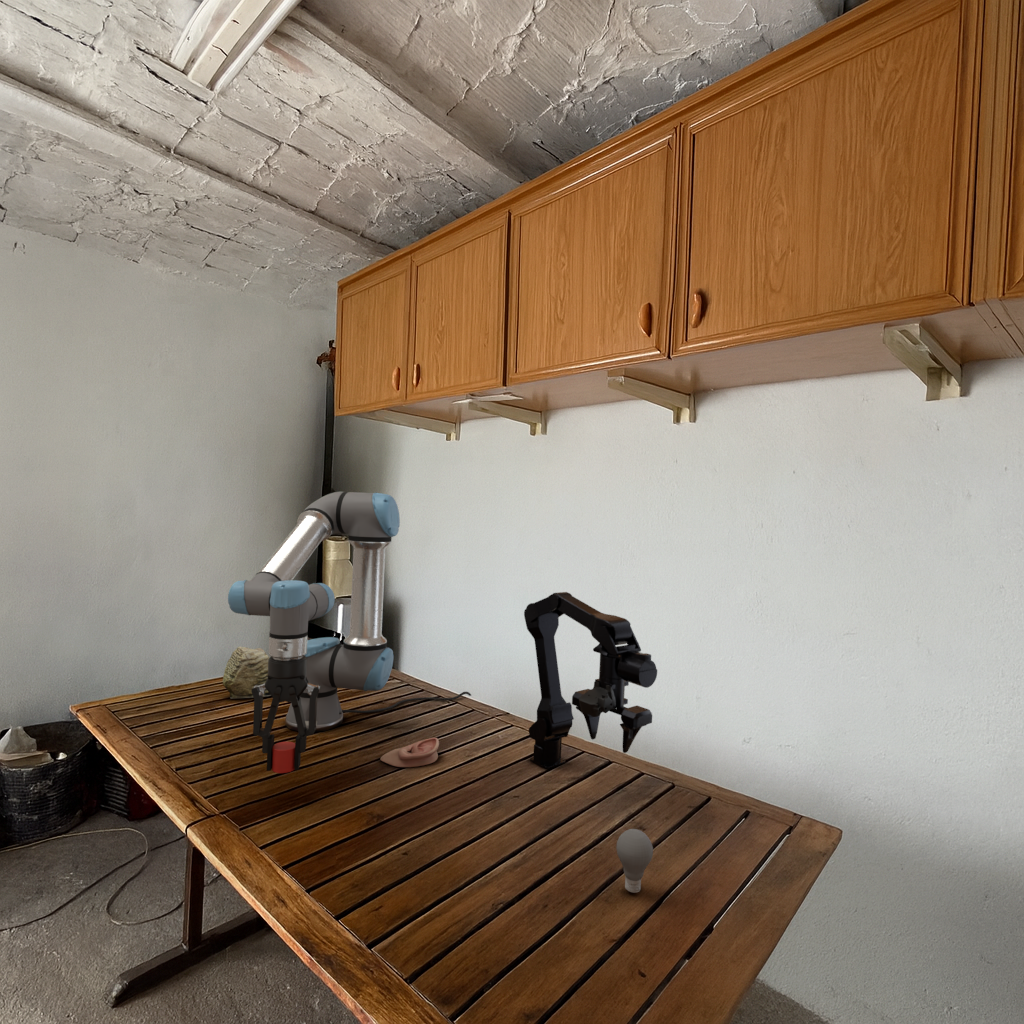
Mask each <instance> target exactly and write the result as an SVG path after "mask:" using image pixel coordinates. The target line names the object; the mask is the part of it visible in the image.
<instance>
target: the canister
mask: <svg viewBox="0 0 1024 1024" xmlns="http://www.w3.org/2000/svg"><path fill="white" fill-rule="evenodd" d="M294 765H295V742H294V741H281V742H277V743H274V745H273V748H272V769H271V771H272V772H273V773H276V774H286V773H291V772H293V771H295V770H294Z"/></svg>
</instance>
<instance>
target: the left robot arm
mask: <svg viewBox="0 0 1024 1024" xmlns="http://www.w3.org/2000/svg"><path fill="white" fill-rule="evenodd" d="M400 520H401V519H400V512H399V507H398V504H397V501H396V499H395V498H394V497H393V496H392V495H390V494H388V493H381V492H363V491H362V492H358V491H357V492H356V491H334V492H330V493H328V494H325V495H324V496H321V497H320V498H318V499H316V500H315V501H313V502H311V503H310V504H309V505H308V506H307V507H306V508H305V509H303V511H301V513H300V514H299V515H298V518H297V520H296V525H295V526H294V528H292V530H291V531H290V532H289V534H288V535H287V536H286V537H285V538H284V540H283V541H282V542H281V543H279V545H278V547H276V549H275V551H274V552H273V553H272V554H271V555H270V557H269V558H268V559H267V560H266V561H265V563H264V564H263V565H262V566H261V567H260V568H259V570H258V571H257V572H256V573H255V574H254V576H253V577H252V578H251V579H250V580H248V579H244V580H237V581H235V582H234V583H232V585H231V586H230V588H229V591H228V594H227V602H228V605H229V609H230V611H232V612H233V613H235V614H239V615H246V616H257V617H258V616H259V617H269V632H268V633H269V634H268V656H269V659H268V678H267V681H266V682H265V683H264V684H262V685H255V686H254V688H253V689H252V695H253V697H252V698H253V720H252V721H253V723H252V726H253V727H252V735H253V736H255V737H256V736H258V737H260V738H261V739H262V741H261V742H262V745H261V752H262V754H266V772H270V771H272V748H273V745H275V734H273V733H272V730H273V729H272V728H273V726H274V722H275V719H276V716H277V713H278V709H279V705H280V703H284V702H287V703H290V704H289V708H288V711H287V713H286V715H285V726H286V728H287V729H289V730H291V731H294V732H295V731H296V732H297V734H296V736H295V740H294V741H295V742H294V743H295V765H294V770H293V771H299V769H300V766H301V759H302V758H301V756H302V753H305V751H306V749H307V739H308V738H307V737H308V736H311V735H312V736H313V735H314V734H315V733H316V732H325V731H329V730H332V729H335V728H337V727H339V726H340V725H342V723H343V722H344V713H347V714H349V713H351V714H353V713H354V714H372V713H379V712H385V711H388V710H390V709H391V710H392V709H394V708H396V707H397V706H399V705H401V704H405V703H407V702H413V701H414V702H415V701H427V700H428V701H453V700H454V701H455V700H457V699H459V698H460V697H462V696H464V695H467V696H469V697H470V696H472V694H471V692H469V691H463V692H461V693H460V694H458V695H456V696H453V697H435V696H433V697H432V696H425V697H413V698H406V699H402V700H399V701H398V702H395V703H394V704H393V705H390V706H387V707H382V708H375V709H367V710H366V709H365V710H360V709H359V710H358V709H342V706H341V702H340V699H339V695H338V689H346V690H357V691H364V692H368V691H370V692H372V691H373V692H377V691H380V690H382V689H383V688H384V687H385V685H386V684H387V683H388V681H389V678H390V676H391V673H392V669H393V665H394V651H393V649H392V648H390V647H388V646H387V645H388V644H387V643H388V640H387V638H386V637H384V636H383V633H382V631H383V609H384V590H385V589H384V587H385V566H386V549H387V548H388V547H389V545H391V543H392V538H394V537H396V536H397V535H398V533H399V528H400V526H401V525H400V523H401V522H400ZM335 534H342V535H348V537H347V538H348V539H347V541H348V543H349V544H350V545H351V546H352V547H353V552H352V554H353V555H352V575H351V577H352V578H351V596H350V597H351V598H350V599H351V601H350V617H349V618H350V620H349V623H350V624H349V634H348V636H346V637H345V638H344V639H343V644H341V641H340V639H339V638H338V637H334V636H325V637H317V638H312V639H309V636H308V635H309V634H308V633H309V632H308V630H309V622H310V621H313V620H316V619H319V618H322V617H324V616H326V614H328V613H329V612H330V611H332V609H333V607H334V606H335V601H336V599H335V597H336V596H335V593H334V591H333V589H332V588H331V587H330V586H329V585H328V584H325V583H323V582H317V583H316V582H313V583H308V582H307V581H304V580H297V579H295V580H294V578H296V576H297V575H298V573H299V572H300V570H301V569H302V567H304V566H305V564H306V563H307V561H308V560H309V559H310V558H311V556H312V554H313V553H314V552H315V551H316V549H317V548H318V546H319V545H320V544H321V542H324V541H326V540H328V539H329V538H330V537H331V535H335ZM265 689H267V691H268V692H269V693H270V695H271V696H270V697H271V698H272V700H271V704H270V707H269V711H268V714H267V718H266V721H265V724H264V727H263V714H264V713H263V711H264V697H263V694H264V693H265ZM271 733H272V734H271Z"/></svg>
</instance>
